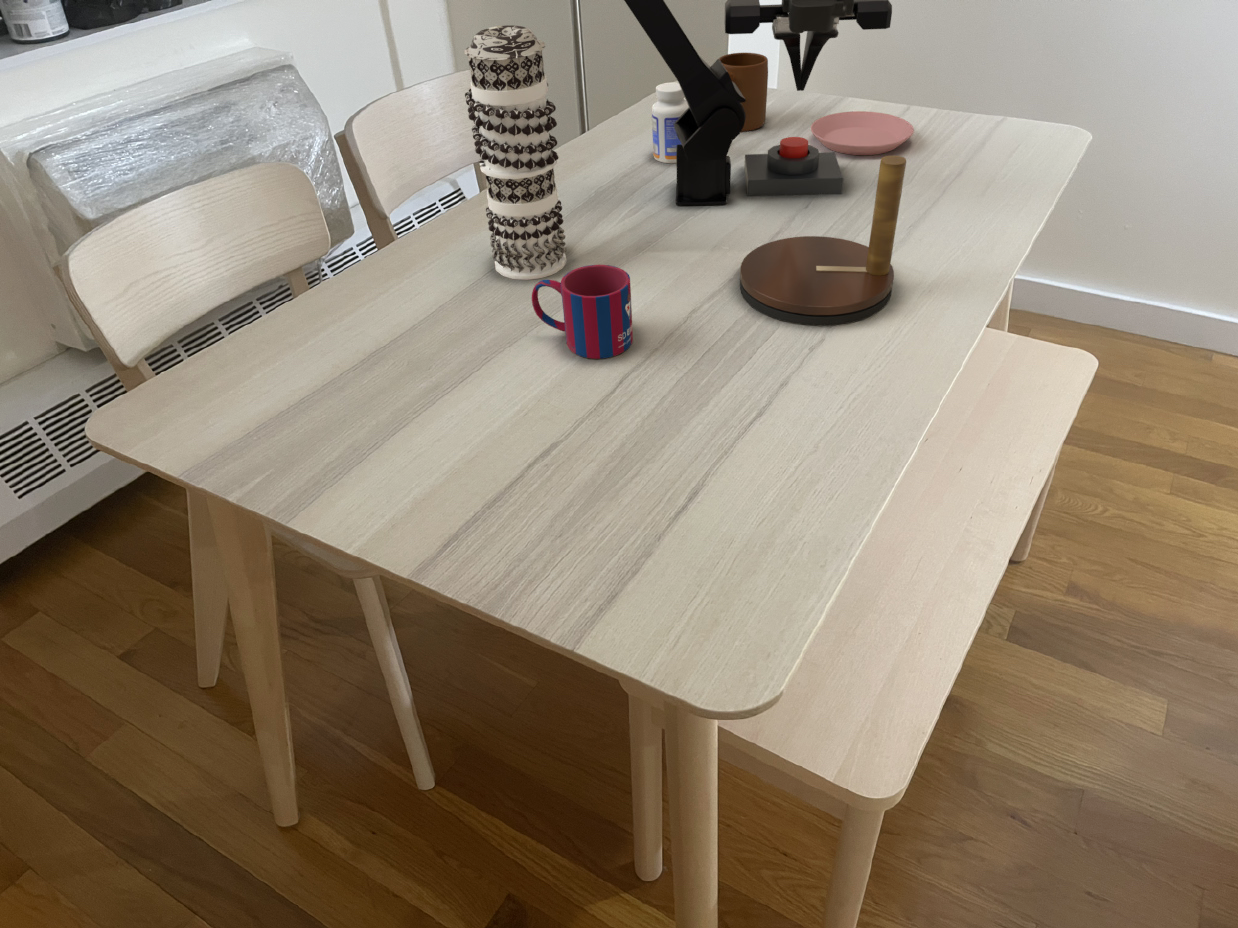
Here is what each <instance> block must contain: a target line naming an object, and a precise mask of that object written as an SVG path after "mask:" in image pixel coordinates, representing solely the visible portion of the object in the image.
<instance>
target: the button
mask: <svg viewBox="0 0 1238 928" xmlns="http://www.w3.org/2000/svg"><path fill="white" fill-rule="evenodd" d="M779 145H780V152H779V155H780V156H782V157H786V158H802V157H806V156H807V153H808V145H809V140H808V139H806V138H804V137H801V136H789V137H788V136H787V137H784V138H782V139H781V140H780V141H779Z"/></svg>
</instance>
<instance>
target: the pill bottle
mask: <svg viewBox="0 0 1238 928" xmlns="http://www.w3.org/2000/svg"><path fill="white" fill-rule="evenodd" d="M655 98H656V100H657V101H655V102H654V103H653V105H651V127H652V128H651V129H652V132H651V133H652V155H653V158H654V159H655V160H656V161H657V162H660V163H663V164H676V150H677V145H682V144H681V142H680V140H679V139H678V136H677V133H676V131H675V128H674V123H675V122H676V121H677V120H678V119H679V117H680V116H681V115H682V114H683V113H684V112H685V111H686V110H687V109H688V108H689V106H688V104H687V101H686V99H685V97H684V95H683V92H682V90H681V87H680V85H679V83H678V82H676V81H674V82H664V83H660V84H658V85H656V86H655Z"/></svg>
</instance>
